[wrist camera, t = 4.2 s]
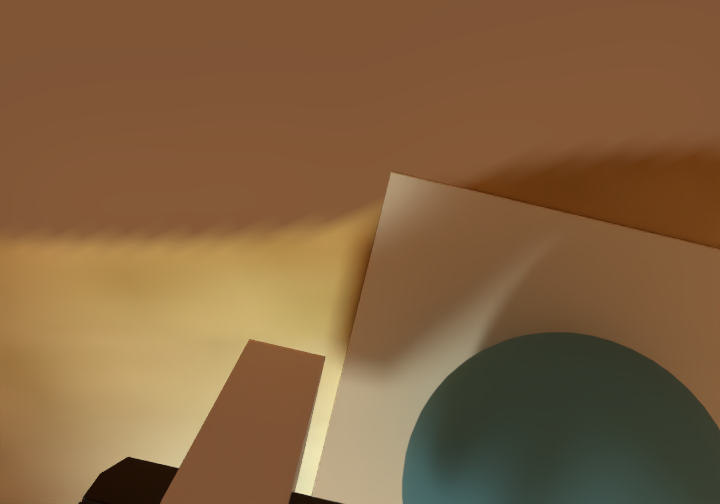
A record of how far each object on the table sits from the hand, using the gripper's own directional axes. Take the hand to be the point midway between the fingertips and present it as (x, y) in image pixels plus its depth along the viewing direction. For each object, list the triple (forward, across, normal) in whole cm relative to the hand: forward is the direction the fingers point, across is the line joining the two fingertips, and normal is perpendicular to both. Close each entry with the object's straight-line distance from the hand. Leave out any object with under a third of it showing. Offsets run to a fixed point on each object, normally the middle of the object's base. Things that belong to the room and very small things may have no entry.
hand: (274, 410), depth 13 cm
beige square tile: (+2, -6, 0) cm, 7 cm away
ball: (-1, -6, 0) cm, 6 cm away
